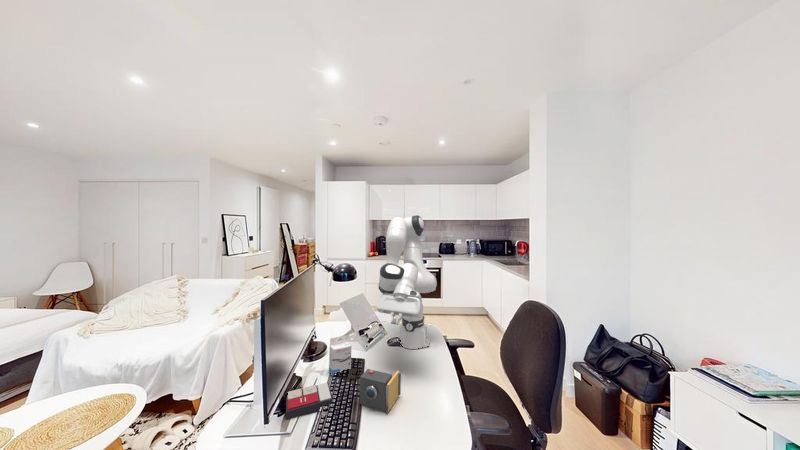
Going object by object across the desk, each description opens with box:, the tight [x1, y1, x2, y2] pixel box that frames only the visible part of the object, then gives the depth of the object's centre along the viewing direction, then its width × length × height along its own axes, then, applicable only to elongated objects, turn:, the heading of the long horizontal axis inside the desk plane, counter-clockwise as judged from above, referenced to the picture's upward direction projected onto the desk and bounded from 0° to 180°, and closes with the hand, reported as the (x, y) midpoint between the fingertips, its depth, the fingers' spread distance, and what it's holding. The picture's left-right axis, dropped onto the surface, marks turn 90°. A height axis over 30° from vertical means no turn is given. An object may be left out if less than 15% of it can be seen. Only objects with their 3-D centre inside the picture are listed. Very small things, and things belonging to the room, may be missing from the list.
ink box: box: [328, 334, 352, 374], centre depth 117 cm, size 8×5×15 cm, turn 123°
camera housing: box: [359, 368, 393, 413], centre depth 95 cm, size 7×10×11 cm
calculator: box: [285, 382, 334, 420], centre depth 95 cm, size 11×4×15 cm
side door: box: [384, 370, 402, 414], centre depth 95 cm, size 11×2×9 cm, turn 159°
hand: (394, 323), depth 111 cm, fingers closed
